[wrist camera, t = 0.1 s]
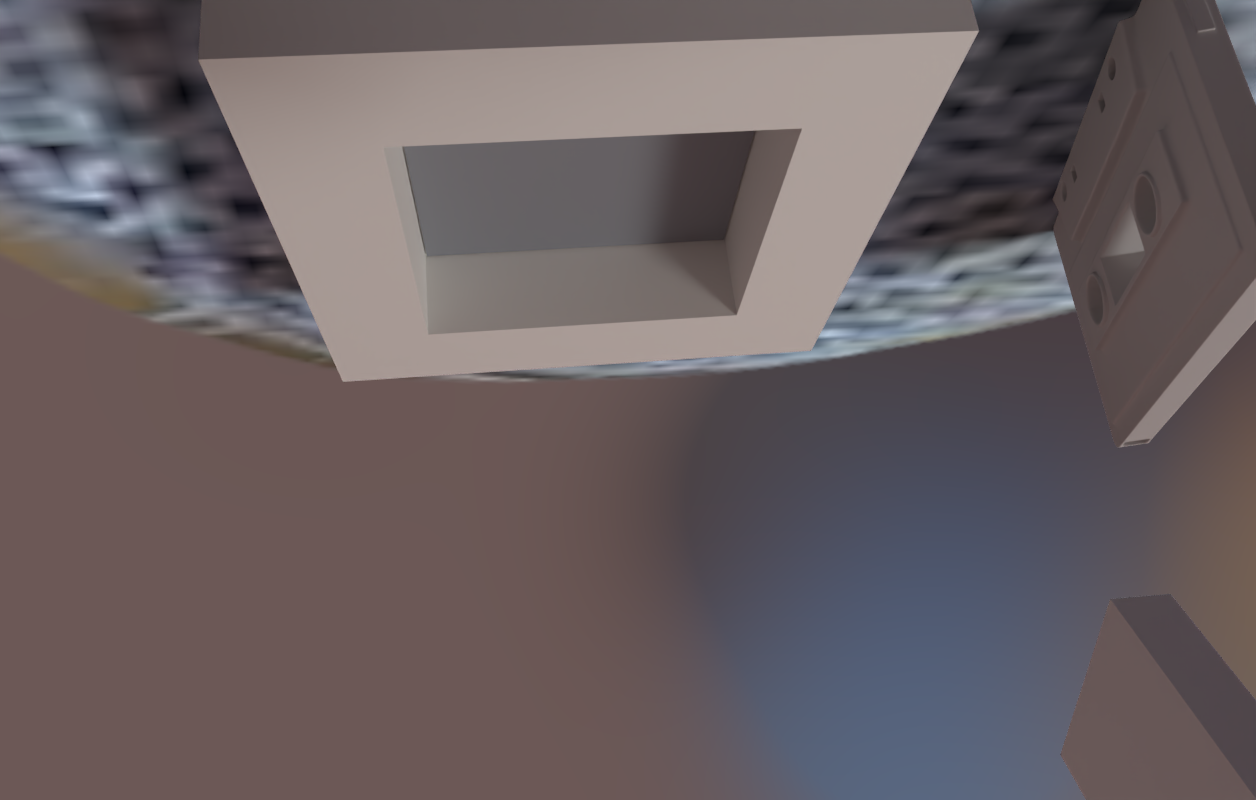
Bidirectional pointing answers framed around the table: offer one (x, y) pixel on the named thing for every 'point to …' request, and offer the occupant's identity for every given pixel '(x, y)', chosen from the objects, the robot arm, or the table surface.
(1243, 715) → the robot arm
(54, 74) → the table surface
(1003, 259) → the table surface
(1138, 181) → the cassette
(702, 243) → the socket block
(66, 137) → the table surface
